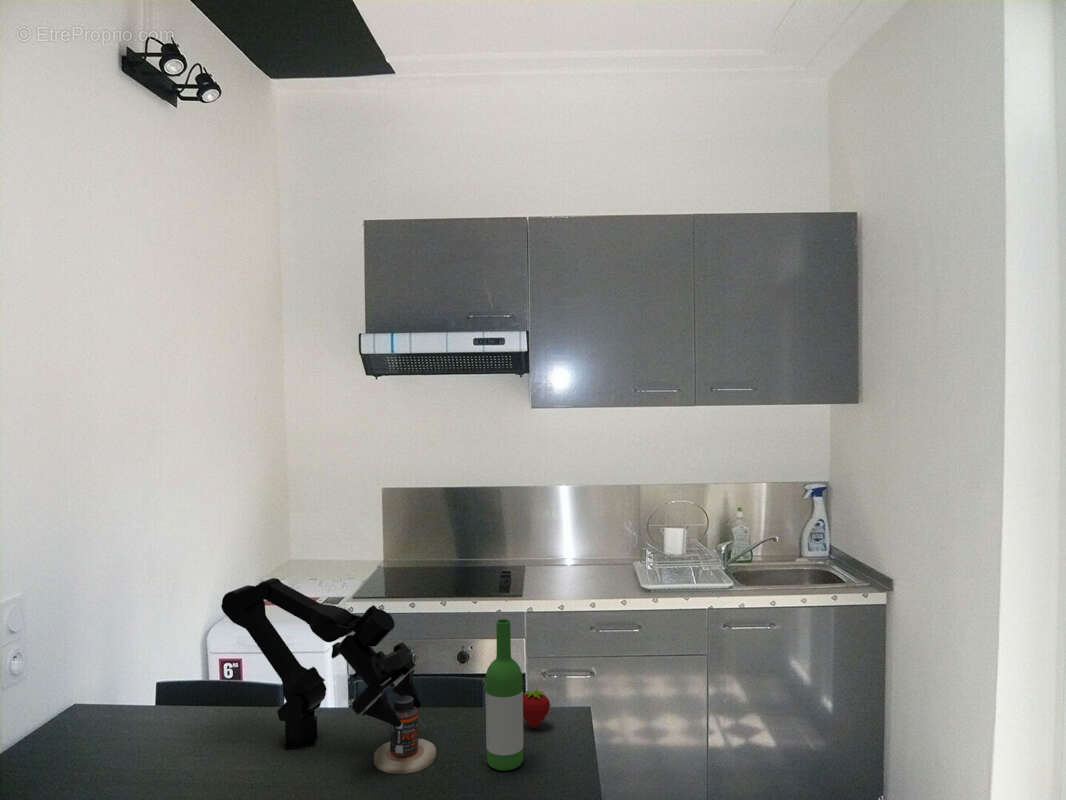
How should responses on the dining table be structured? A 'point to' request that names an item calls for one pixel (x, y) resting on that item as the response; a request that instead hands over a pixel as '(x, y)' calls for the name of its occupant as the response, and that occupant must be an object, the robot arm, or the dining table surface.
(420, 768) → the serving plate
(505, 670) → the wine bottle
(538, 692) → the strawberry
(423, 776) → the dining table surface
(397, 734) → the supplement bottle
